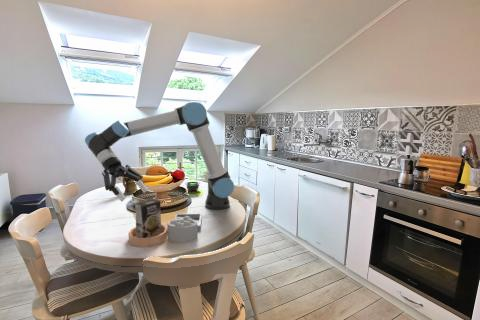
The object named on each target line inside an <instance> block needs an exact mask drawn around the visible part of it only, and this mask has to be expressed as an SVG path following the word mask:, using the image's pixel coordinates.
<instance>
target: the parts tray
mask: <svg viewBox="0 0 480 320" xmlns="http://www.w3.org/2000/svg"><path fill="white" fill-rule="evenodd" d="M185 216H189V217H190V218H191V219H194V220H195V219H199V220H198V224H197V230H198V231H201V228H202V218H203V217H202V213H200V212H199V213H175V216H174V218H176V217H185Z"/></svg>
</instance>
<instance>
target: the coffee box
mask: <svg viewBox="0 0 480 320" xmlns="http://www.w3.org/2000/svg"><path fill="white" fill-rule="evenodd" d="M134 206H135V207H134V208H135V227H136V237H138V238H150V237H154V236H158V235H159V234H161V224H162V214H161V213H162V211H161V201H160V200H159V199H154V198H151V199H146V200H142V201H138V202H135V203H134Z"/></svg>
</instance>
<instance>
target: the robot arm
mask: <svg viewBox="0 0 480 320" xmlns="http://www.w3.org/2000/svg"><path fill="white" fill-rule="evenodd" d="M207 113H208V112H207V109H206V106H204V104H203V103H201V102H199V101H196V100H195V101H194V100H192V101H188V102H187V103H185V104H184V105H183V106H179V107H175V108H174V110H171V111H167V112H163V113H159V114H155V115H150V116H147V117H143V118H138V119H135V120H130V121H126V122H122V121H121V120H117V121H115V122H113V123H112V124H111V125H110V126H108V127H107V128H105V129H104V130H103V131H102V132H100V133H99V132H97V131H96V132H92V133H90V134H88V135H86V136H85V138H84V143H85V144H86V146H87V147H88V149H89V150H90V151H91V152H92V154H93V156H94V157H95V158H96V159H97V161H98V162H99V163H100V165H101V166H102V167H103V170H102V172H101V175H102V176H103V181H104V183H103V184H104V189H105V191H109V192H112V193H113V194H114V195H115V196H117V198H118V199H119V201H120V202H123V201H124V200H126V196H125V195H124V193H123V192H122V190H121V189H120V188H119V187H118V186H116V182H117V178H120V177H122V176H124V177H128V178H130V179H132V180H134V181H136V186H138V187H139V189H140V190H141V191H142V192H143V194H146V193H147V192H148V190H149V189H148V187H147V186H146V184H145V182H144V181H143V180H142V179H143V178H144V175H142V174H141V173H139V172H138V171H136V170H135V169H134V168H132V167H131V166H130V165H129V164H126V165H125V166H124V165H122V162H121V160H120V159H119V158H118V157H117V155H116V153H115V152H114V151H113V150H112V148H111V147H112V146H114V145H115V144H116V143H117V142H118V141H120V140H121V139H124V138H128V137H129V138H130V137H132V136H135V135H139V134H143V133H148V132H152V131H155V130H160V129H164V128H167V127H171V126H176V125H179V126H183V125H186V127H187V130H188V132H190V133H192V134H193V137H194V140H195V142H196V144H197V147H198V150H199V152H200V155H201V157H202V159H203V163H204V165H205V167H206V170H207V196H206V198H205V199H206V200H205V202H204V206H205V208H207V209H210V210H225V209H228V208H229V207H230V205H231V204H230V199H229V196H231V195H232V194H233V193H234V190H235V184H234V181H233V180H232V179H231V176H230V173H229V172H228V169H227V168H225V167H224V165H223V163H222V160H221V157H220V155H219V152H218V150H217V147H216V145H215V141H214V140H213V137H212V134H211V131H210V128H209V125H210V124H211V123H210V121H209V118H208V116H207V115H208V114H207ZM110 175H111V177H110ZM122 178H123V177H122Z"/></svg>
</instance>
